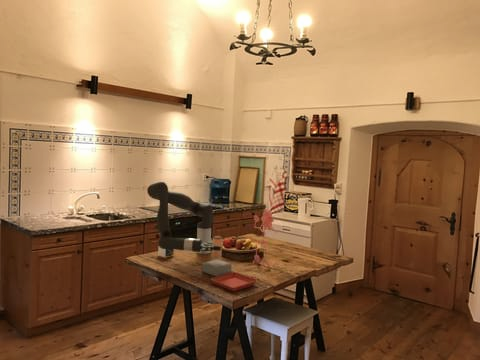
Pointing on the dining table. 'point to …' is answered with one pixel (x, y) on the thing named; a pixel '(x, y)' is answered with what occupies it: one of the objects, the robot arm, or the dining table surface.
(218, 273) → the grey lidded square box
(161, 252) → the medicine bottle
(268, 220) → the figurine
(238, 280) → the plant saucer
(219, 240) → the jar
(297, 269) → the dining table surface
